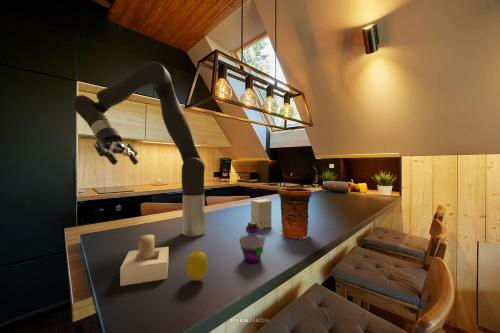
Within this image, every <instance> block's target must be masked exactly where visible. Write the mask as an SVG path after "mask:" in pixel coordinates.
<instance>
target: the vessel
mask: <svg viewBox="0 0 500 333" xmlns="http://www.w3.org/2000/svg"><path fill="white" fill-rule="evenodd" d="M277 192H278V196H279V198H280V215H281V230H280V233H281V234H283V236H282V237H285V238H291V239H295V240H298V239H297V238H303V237H306V236H307V234H308V226H309V203H310V199H311V197H312V195H313V194H312V191H311V189H307V188H302V187H301V188H297V187H292V188H289V187H283V188H282V187H281V188H279V189H278V191H277ZM281 231H282V232H281ZM281 234H280V235H281Z"/></svg>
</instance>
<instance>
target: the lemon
mask: <svg viewBox="0 0 500 333" xmlns="http://www.w3.org/2000/svg"><path fill="white" fill-rule="evenodd" d="M208 263H209V262H208V258H207V256H206V254H205V253H204V252H202V251H199V249H198V250H195V251H193V252H192V253H190V255H189V256H188V257H187V261H186V263H185V264H186V274H187V276H188V277H189V278H190V279H192V280H194V281H196V282H198V281H200V280H201V279H202V278H204V277H205V276H206V274H207V271H208V268H209V267H208V266H209V264H208Z"/></svg>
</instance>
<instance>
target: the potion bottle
mask: <svg viewBox="0 0 500 333" xmlns="http://www.w3.org/2000/svg"><path fill="white" fill-rule="evenodd" d="M259 231H260V230H259V226H257V223H256V222H251V221H250V222H248V223H247V225H246V226H245V232H246V233H247V234H245V235H242V236H241V235H240V236H241V237H240V238H239V240H238V241H239V245H240V250H241V252H242V255H243V256H242V257H243V261H244V262H245V263H247V264H253V265H255V264H258V263H260V262H261V260H262V259H261V258H262V257H261V256H262V254H263V253H264V246H265V242H266V241H265V240H266V237H265V236H263V235H261V234H258V233H259Z"/></svg>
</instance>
